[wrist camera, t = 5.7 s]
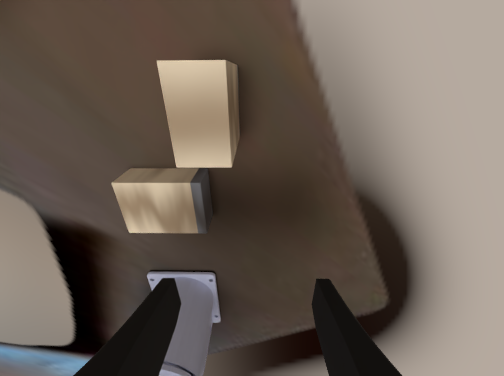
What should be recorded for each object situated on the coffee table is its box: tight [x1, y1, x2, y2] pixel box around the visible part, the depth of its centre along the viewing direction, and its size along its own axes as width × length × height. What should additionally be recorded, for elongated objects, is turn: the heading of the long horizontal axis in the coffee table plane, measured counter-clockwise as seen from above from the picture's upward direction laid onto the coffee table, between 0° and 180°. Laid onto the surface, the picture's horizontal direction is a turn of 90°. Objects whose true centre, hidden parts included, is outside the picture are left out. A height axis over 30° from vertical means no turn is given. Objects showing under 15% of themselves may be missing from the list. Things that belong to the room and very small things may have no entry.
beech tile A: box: [112, 168, 213, 233], centre depth 19 cm, size 5×3×7 cm
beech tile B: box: [157, 60, 240, 167], centre depth 14 cm, size 5×3×7 cm, turn 0°
